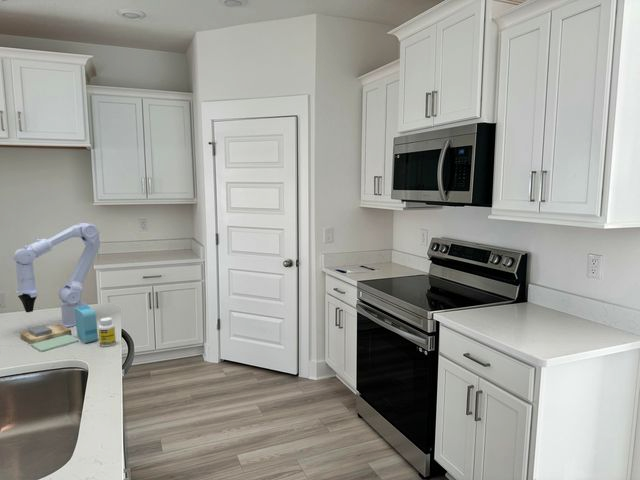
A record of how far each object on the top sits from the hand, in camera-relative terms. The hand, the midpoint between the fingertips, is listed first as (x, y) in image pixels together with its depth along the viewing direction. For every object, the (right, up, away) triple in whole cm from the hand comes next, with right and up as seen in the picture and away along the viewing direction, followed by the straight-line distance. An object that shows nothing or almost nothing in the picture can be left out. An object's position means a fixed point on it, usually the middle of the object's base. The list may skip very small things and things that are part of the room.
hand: (29, 311), depth 178 cm
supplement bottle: (+37, -10, -12) cm, 41 cm away
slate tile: (+7, -7, -5) cm, 12 cm away
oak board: (+9, -9, -3) cm, 13 cm away
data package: (+27, -10, -6) cm, 29 cm away
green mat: (+17, -10, -11) cm, 23 cm away
